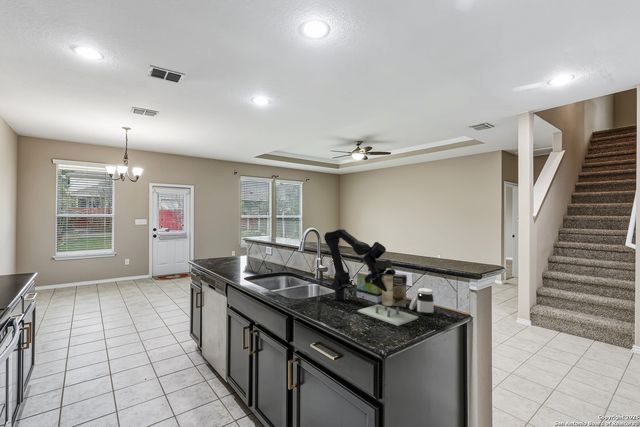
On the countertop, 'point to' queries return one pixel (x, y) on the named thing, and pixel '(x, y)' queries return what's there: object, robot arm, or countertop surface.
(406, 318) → the standoff plate
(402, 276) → the coffee box
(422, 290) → the spread jar
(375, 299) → the tea box
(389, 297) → the birch cylinder
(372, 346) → the countertop surface
